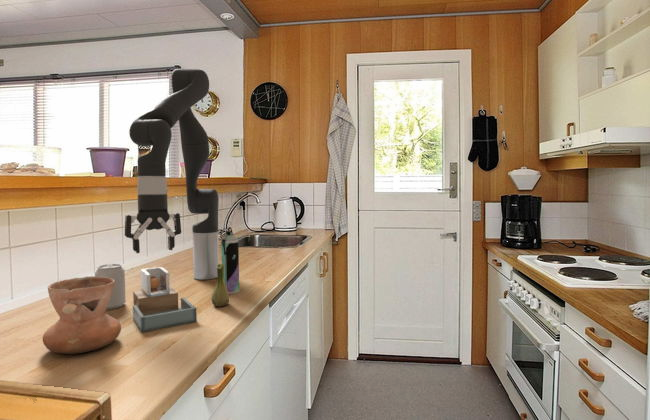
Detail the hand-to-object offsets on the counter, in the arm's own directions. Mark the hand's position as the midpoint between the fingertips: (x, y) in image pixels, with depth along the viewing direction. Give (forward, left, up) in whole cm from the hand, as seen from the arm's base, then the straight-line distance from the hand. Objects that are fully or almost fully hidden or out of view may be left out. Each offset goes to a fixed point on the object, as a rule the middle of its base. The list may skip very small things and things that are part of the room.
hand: (154, 251), depth 110 cm
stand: (0, 0, -17) cm, 17 cm away
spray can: (-6, +24, -17) cm, 30 cm away
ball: (-2, 0, -11) cm, 11 cm away
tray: (+10, 0, -17) cm, 20 cm away
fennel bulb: (+7, +16, -17) cm, 24 cm away
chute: (0, 0, -12) cm, 12 cm away
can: (-11, -10, -17) cm, 22 cm away
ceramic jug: (+17, -18, -17) cm, 30 cm away
